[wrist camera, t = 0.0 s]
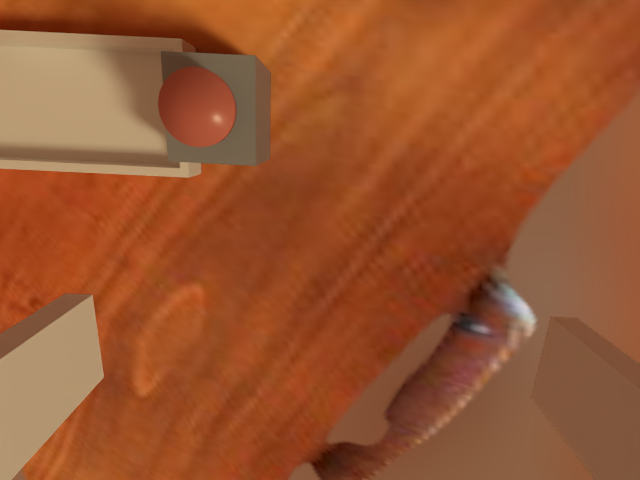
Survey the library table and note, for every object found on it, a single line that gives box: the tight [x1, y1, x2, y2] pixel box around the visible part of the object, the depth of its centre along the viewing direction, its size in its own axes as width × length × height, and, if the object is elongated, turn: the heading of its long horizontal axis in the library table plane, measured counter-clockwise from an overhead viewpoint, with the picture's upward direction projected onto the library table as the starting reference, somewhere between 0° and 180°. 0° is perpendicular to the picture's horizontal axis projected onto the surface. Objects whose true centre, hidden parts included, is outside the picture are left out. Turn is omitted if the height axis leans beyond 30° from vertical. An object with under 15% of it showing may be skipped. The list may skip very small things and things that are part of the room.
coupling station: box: [0, 30, 271, 177], centre depth 31 cm, size 12×33×11 cm, turn 87°
